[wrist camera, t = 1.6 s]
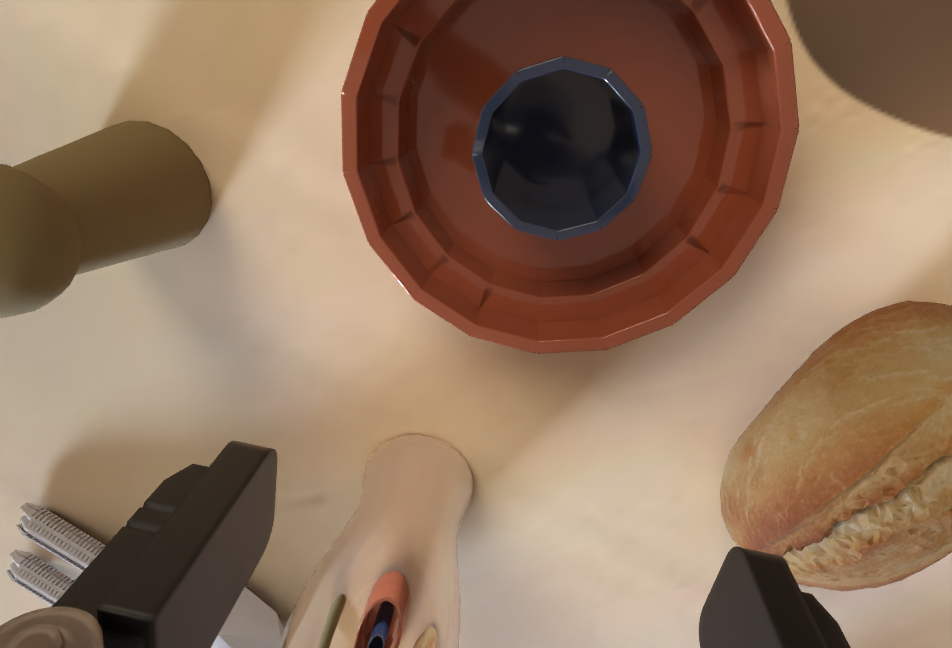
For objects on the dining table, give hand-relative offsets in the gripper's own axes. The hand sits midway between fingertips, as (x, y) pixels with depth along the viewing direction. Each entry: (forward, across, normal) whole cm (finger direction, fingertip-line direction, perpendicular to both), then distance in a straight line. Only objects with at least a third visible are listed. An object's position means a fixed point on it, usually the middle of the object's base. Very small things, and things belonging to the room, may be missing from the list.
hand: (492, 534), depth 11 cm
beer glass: (+20, +3, +15) cm, 25 cm away
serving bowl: (+19, -1, -5) cm, 20 cm away
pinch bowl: (+19, 0, -5) cm, 19 cm away
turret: (+20, +17, +28) cm, 38 cm away
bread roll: (+20, -16, +6) cm, 26 cm away
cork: (+20, +18, +1) cm, 26 cm away
